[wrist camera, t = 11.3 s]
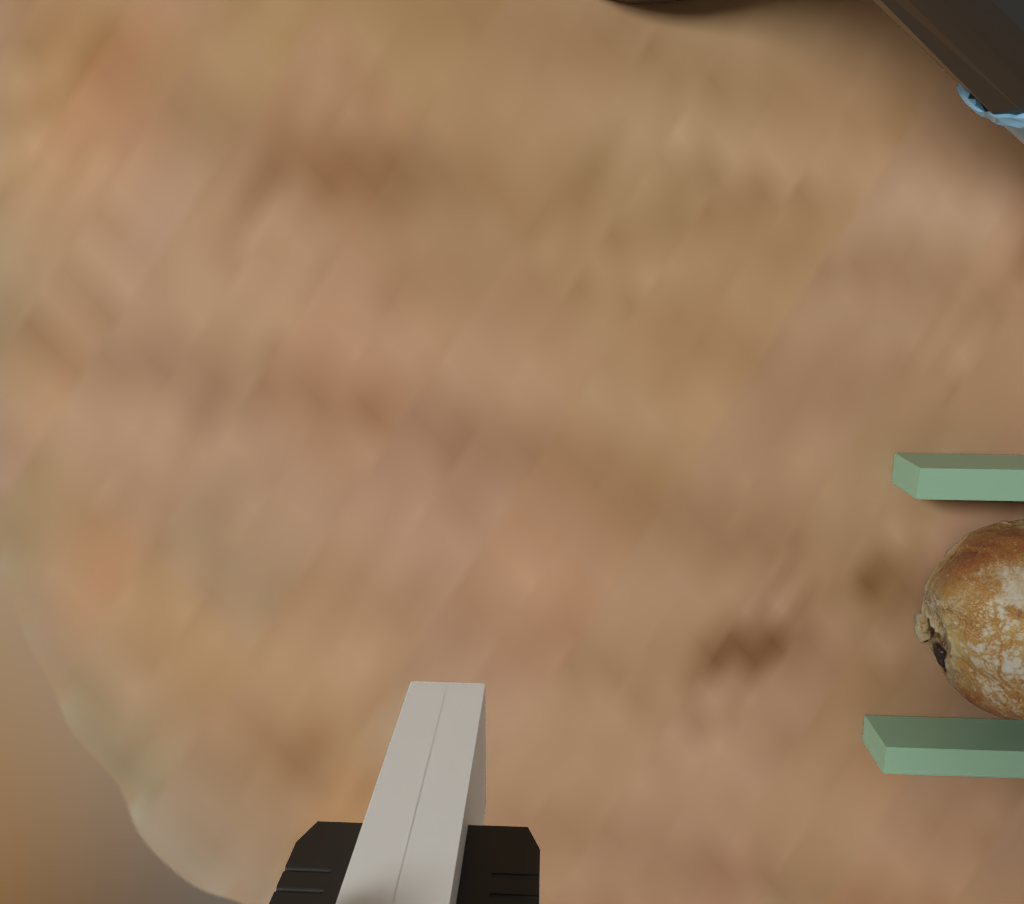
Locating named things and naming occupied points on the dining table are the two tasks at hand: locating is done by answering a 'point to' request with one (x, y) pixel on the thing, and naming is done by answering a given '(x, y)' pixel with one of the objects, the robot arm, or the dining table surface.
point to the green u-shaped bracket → (939, 738)
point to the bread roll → (980, 618)
